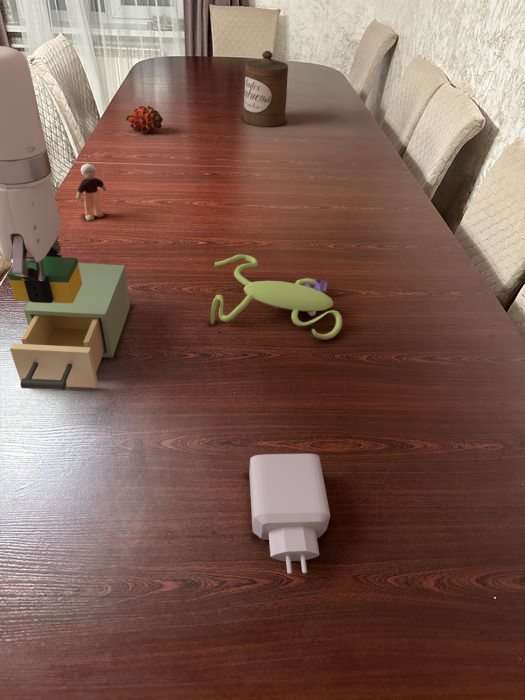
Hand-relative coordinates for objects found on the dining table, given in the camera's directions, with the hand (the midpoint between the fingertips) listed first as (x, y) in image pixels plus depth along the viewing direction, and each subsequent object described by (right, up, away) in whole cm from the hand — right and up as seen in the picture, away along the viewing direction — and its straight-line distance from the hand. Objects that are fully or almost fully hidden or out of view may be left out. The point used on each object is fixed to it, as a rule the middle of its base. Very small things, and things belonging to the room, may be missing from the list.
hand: (48, 288), depth 75 cm
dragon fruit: (-8, +63, +97) cm, 116 cm away
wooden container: (+31, +74, +113) cm, 139 cm away
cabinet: (-1, -5, +18) cm, 19 cm away
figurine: (+32, 0, +27) cm, 42 cm away
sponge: (0, 0, 0) cm, 1 cm away
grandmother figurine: (-9, +23, +50) cm, 56 cm away
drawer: (-1, -12, +9) cm, 15 cm away
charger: (+34, -31, -9) cm, 47 cm away
